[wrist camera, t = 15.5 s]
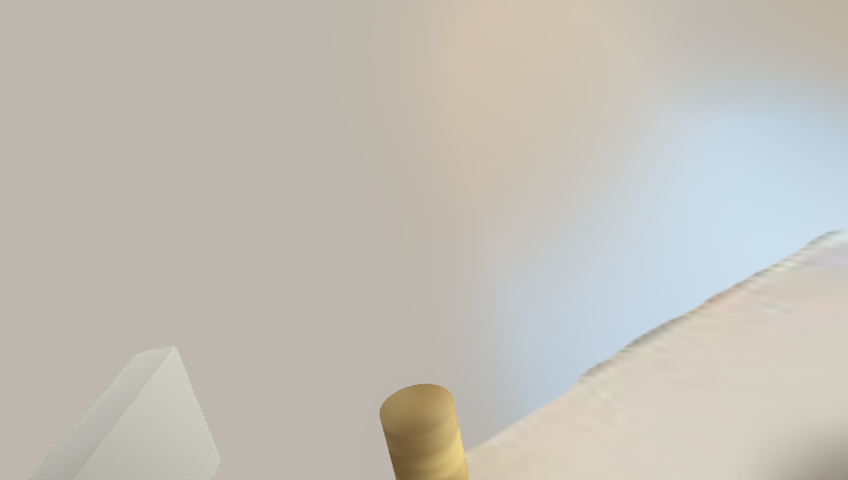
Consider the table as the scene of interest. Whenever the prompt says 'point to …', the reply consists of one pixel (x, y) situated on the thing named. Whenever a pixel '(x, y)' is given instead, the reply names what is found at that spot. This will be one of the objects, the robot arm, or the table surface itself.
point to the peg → (423, 434)
